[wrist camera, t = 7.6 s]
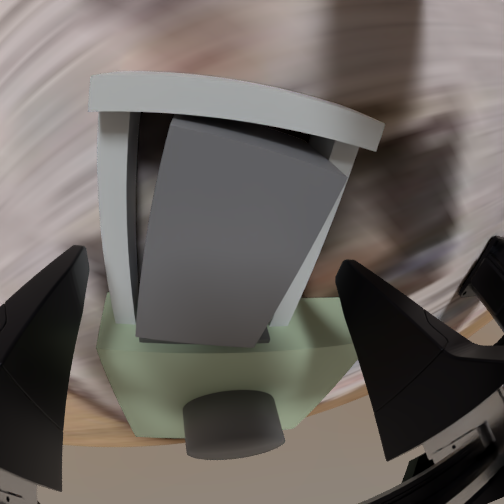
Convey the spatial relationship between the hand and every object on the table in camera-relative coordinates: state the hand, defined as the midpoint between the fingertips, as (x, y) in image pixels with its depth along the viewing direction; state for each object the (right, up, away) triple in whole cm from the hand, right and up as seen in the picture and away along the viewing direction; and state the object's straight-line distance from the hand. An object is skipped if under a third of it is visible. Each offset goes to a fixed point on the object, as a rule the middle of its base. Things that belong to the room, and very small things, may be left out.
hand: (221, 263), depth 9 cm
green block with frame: (0, -4, +7) cm, 8 cm away
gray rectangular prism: (-1, +2, +3) cm, 4 cm away
